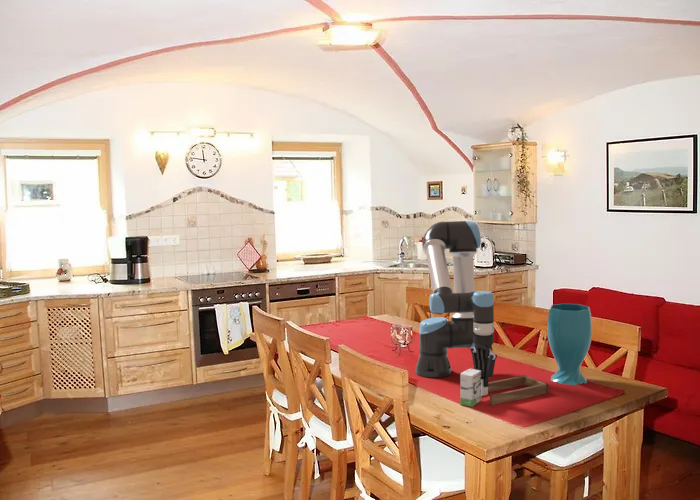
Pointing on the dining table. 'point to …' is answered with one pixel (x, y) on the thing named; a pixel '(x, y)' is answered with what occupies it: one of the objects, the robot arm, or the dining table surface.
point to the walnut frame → (532, 390)
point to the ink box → (470, 387)
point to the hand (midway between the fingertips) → (483, 394)
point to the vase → (569, 340)
